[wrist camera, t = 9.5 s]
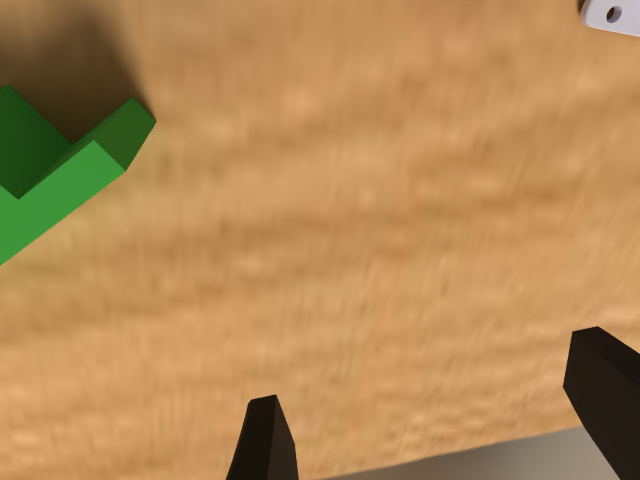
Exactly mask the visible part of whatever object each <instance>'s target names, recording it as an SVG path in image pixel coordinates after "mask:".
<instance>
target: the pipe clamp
mask: <svg viewBox="0 0 640 480" xmlns="http://www.w3.org/2000/svg"><path fill="white" fill-rule="evenodd" d="M155 124H156V121H155V120H154V119H153V117H152V116H151V115H150V114H149V113H148V112H147V111H146V110H145V109H144V108H143V107H142V105H141V104H140V103H139V102H138V101H137V100H136V99H135V98H134V97H131V98H130V99H129V100H128V101H126V102H125V103H124V104H123V105H121V106H120V107H119V108H118V109H116V110H115V111H114V112H113V113H111V114H110V115H109V116H108V117H106V118H105V119H104V120H103V121H101V122H100V123H99V124H98V125H96V126H95V127H94V128H93V129H91V130H90V131H89V132H88V133H87V134H85V135H84V136H83V137H82V138H80V139H79V140H78V141H77V142H75V143H74V144H72V143H71V142H69V141H68V140H67V139H66V138H65V137H64V136H63V135H62V134H61V133H60V132H59V131H58V130H57V129H56V128H55V127H53V126H52V125H51V124H50V123H49V122H48V121H47V120H46V119H45V118H44V117H43V116H42V115H41V114H40V113H39V112H37V111H36V110H35V109H34V108H33V107H32V106H31V105H30V104H29V103H28V102H27V101H26V100H25V99H24V98H23V97H21V96H20V95H19V94H18V93H17V92H16V91H15V90H14V89H13V88H12V87H11V86H10V85H9V84H7V85H5V86H3V87H2V88H0V266H1V265H2V264H3V263H5V262H6V261H7V260H9V259H10V258H11V257H13V256H14V255H15V254H17V253H18V252H19V251H21V250H22V249H23V248H25V247H26V246H27V245H29V244H30V243H31V242H33V241H34V240H35V239H37V238H38V237H39V236H41V235H42V234H43V233H45V232H46V231H47V230H49V229H50V228H51V227H53V226H54V225H55V224H57V223H58V222H59V221H61V220H62V219H63V218H65V217H66V216H67V215H68V214H70V213H71V212H72V211H74V210H75V209H76V208H78V207H79V206H80V205H82V204H83V203H84V202H86V201H87V200H88V199H90V198H91V197H92V196H94V195H95V194H96V193H98V192H99V191H100V190H102V189H103V188H104V187H106V186H107V185H108V184H110V183H111V182H112V181H114V180H115V179H116V178H118V177H119V176H120V175H122V174H123V173H124V172H126V170H127V169H128V167H129V165H130V164H131V162H132V161H133V159H134V157H135V156H136V154H137V153H138V151H139V149H140V148H141V146H142V145H143V143H144V141H145V140H146V138H147V137H148V135H149V133H150V132H151V130H152V129H153V127H154V125H155Z"/></svg>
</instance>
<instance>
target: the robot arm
mask: <svg viewBox="0 0 640 480" xmlns="http://www.w3.org/2000/svg"><path fill="white" fill-rule="evenodd" d="M612 7H614V14H613V16H612V17H611V18H610V19H609V20H608V21H607V19H606V16H607V13H608V11H609V10H610V9H611V8H612ZM580 16H581V21H582V23H583V24H584V25H586V26H588V27H592V28H597V29H602V30H607V31H612V32H618V33H623V34H628V35H633V36H639V37H640V0H585V2H584V4H583V7H582V10H581V14H580ZM563 388H564V390H565V392H566V394H567V396H568V398H569V400H570V402H571V404H572V406H573V407H574V409H575V411H576V413H577V415H578V417H579V418H580V420H581V422H582V424H583V426H584V427H585V429H586V430H587V432H588V433H589V435H590V436H591V438H592V439H593V441H594V442H595V444H596V445H597V446H598V448H599V450H600V451H601V452H602V454H603V455H604V457H605V458H606V460H607V461H608V463H609V464H610V465H611V467H612V468H613V470H614V471H615V473H616V474H617V475H618V477H619V478H620V480H640V354H639V353H638V352H636V351H635V350H633V349H632V348H630V347H629V346H627V345H626V344H624V343H623V342H621V341H620V340H618V339H617V338H615V337H614V336H612V335H611V334H609V333H608V332H606V331H605V330H603V329H601V328H600V327H598V326H596V327H592V328H587V329H582V330H577V331H573V332H572V337H571V343H570V349H569V355H568V360H567V366H566V372H565V378H564V383H563ZM226 480H299V479H298V469H297V460H296V451H295V443H294V441H293V438H292V435H291V433H290V430H289V427H288V425H287V422H286V419H285V417H284V414H283V411H282V408H281V406H280V403H279V400H278V398H277V395H271V396H266V397H261V398H257V399H252V400H251V401H250V402H249V403H248V406H247V411H246V415H245V419H244V423H243V426H242V430H241V434H240V437H239V441H238V444H237V447H236V450H235V454H234V457H233V460H232V463H231V466H230V469H229V472H228V475H227V477H226Z"/></svg>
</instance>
